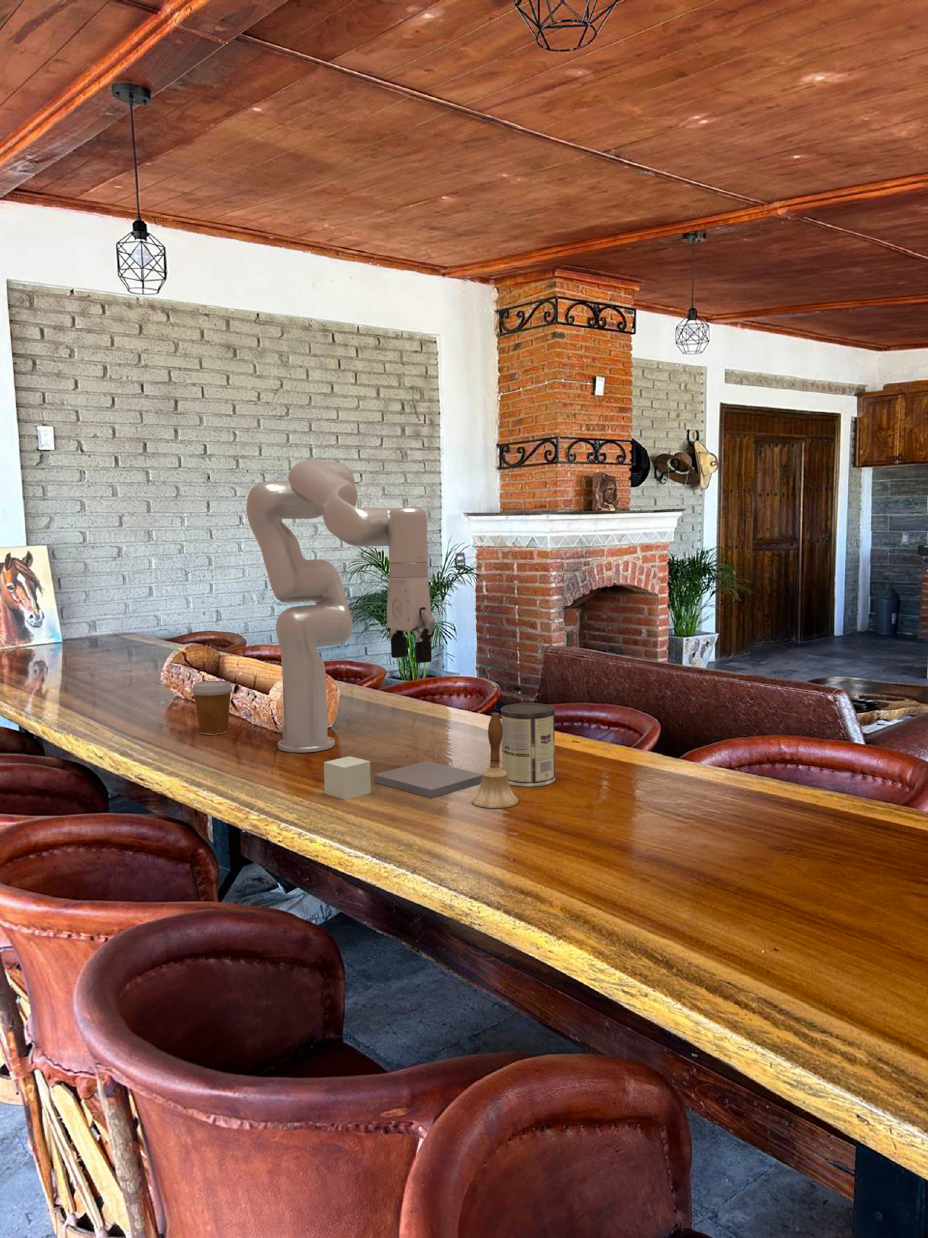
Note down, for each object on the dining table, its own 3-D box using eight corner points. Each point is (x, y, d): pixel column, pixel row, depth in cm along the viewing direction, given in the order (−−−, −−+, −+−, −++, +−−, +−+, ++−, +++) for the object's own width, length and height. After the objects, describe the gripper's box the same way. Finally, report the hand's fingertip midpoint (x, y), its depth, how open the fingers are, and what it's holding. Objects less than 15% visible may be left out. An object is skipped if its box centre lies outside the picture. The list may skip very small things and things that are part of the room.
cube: (324, 794, 174) (323, 762, 173) (350, 787, 178) (349, 756, 177) (345, 800, 170) (344, 767, 169) (370, 793, 174) (370, 761, 173)
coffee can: (513, 770, 188) (512, 701, 187) (562, 776, 184) (562, 704, 182) (493, 783, 179) (492, 710, 177) (544, 789, 174) (544, 714, 173)
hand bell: (494, 792, 173) (493, 707, 171) (528, 801, 167) (527, 713, 165) (461, 802, 167) (460, 713, 166) (495, 812, 161) (494, 720, 160)
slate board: (374, 782, 181) (373, 774, 181) (427, 768, 191) (426, 761, 191) (431, 798, 170) (431, 790, 170) (484, 782, 180) (484, 774, 180)
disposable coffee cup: (242, 731, 228) (240, 682, 227) (212, 738, 220) (210, 688, 219) (215, 727, 233) (213, 679, 232) (185, 734, 225) (182, 685, 224)
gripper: (371, 571, 187) (373, 657, 189) (413, 573, 173) (416, 666, 174) (404, 570, 191) (406, 653, 193) (448, 572, 177) (450, 662, 178)
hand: (411, 659), depth 183 cm, fingers open, 9 cm apart
